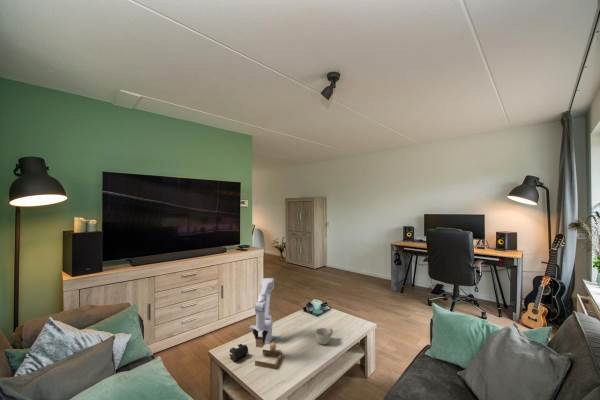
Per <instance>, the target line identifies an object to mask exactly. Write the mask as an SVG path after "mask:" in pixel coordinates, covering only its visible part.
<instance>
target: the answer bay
mask: <svg viewBox="0 0 600 400" xmlns="http://www.w3.org/2000/svg"><path fill="white" fill-rule="evenodd" d="M262 354H263V355H266V356H271V357H277V358H276V360H275V362H274V363H271V362H266V361H261V360H255V361H254V366H256V367H261V368H266V369H267V368H268V369H271V370H276V369H277V367H278V365H279V364H280V362H281V360H282V358H283V352H280V351H276V352H275V351H270V349H262Z"/></svg>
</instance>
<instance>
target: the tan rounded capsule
mask: <svg viewBox="0 0 600 400" xmlns="http://www.w3.org/2000/svg"><path fill="white" fill-rule="evenodd" d="M269 351H275V352H277V343H276V342H270V343H269Z"/></svg>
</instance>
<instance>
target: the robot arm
mask: <svg viewBox="0 0 600 400" xmlns="http://www.w3.org/2000/svg"><path fill="white" fill-rule="evenodd" d="M259 283H260V287H261V293H259V295H258V299H257V302H255V305H254V310H255V311H254V312H255V324H254V325H253V324H251V325H250V326H249V330H252V334H253V337H254V338H255V341H256V339H257V338H258V337H259V332H260V337H263V343H264V342H265V344H266V345H270V343H271V342H272V340H273V339H274V336H273V325H274V322H273V320H274V319H273V316H272V315H271V314H270V308H271V294H272V291H273V290H274V289H275V279H274V278H273V277H271V278H268V277H267V278H265V277H261V278H260V282H259Z"/></svg>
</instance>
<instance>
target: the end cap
mask: <svg viewBox="0 0 600 400" xmlns="http://www.w3.org/2000/svg"><path fill="white" fill-rule="evenodd" d="M248 353H249V348H248V345H247V344H242V343H239V344H237V348H236V347H234V346H233V347H230V349H229V357H230V358H229V360H231V361H232V362H235V361H237V360H239V359H241V358H243V357H245V356H247V354H248Z"/></svg>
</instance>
